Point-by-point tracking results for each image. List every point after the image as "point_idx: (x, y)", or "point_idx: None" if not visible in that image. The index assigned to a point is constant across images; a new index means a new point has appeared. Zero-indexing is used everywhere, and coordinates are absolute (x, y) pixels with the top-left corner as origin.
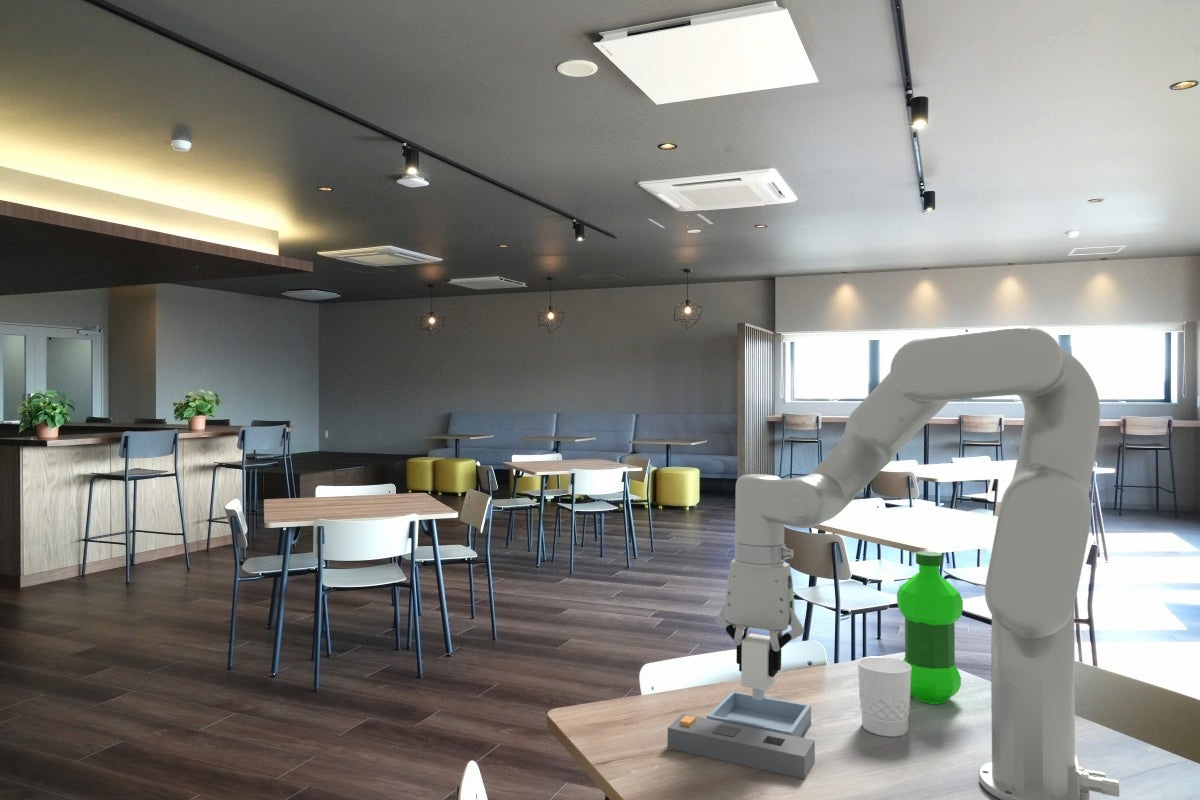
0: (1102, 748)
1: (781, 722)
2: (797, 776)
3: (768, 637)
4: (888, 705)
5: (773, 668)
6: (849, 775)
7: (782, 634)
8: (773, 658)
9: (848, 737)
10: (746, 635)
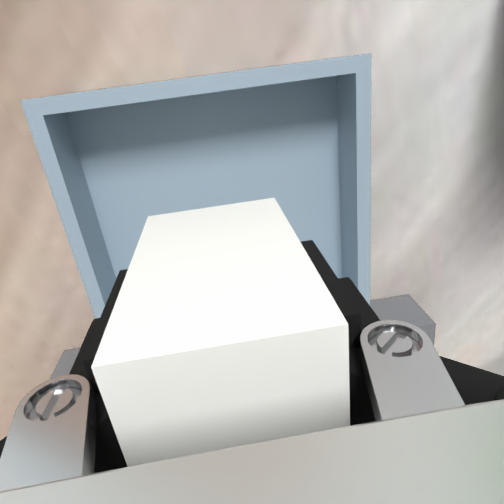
0: None
1: (265, 135)
2: None
3: (297, 375)
4: None
5: None
6: (487, 307)
7: (457, 396)
8: None
9: (472, 91)
10: (90, 419)
